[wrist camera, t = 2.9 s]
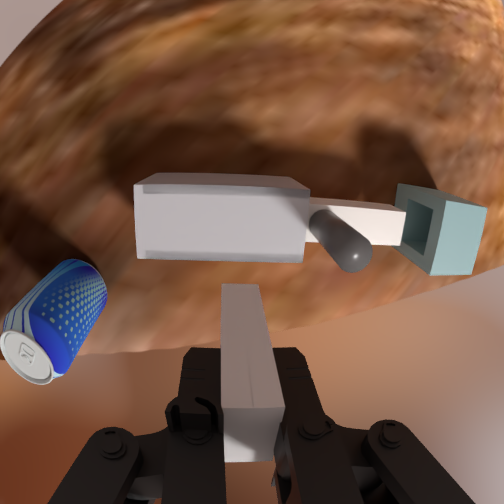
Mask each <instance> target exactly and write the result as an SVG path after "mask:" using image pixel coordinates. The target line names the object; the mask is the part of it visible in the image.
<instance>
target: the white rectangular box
mask: <svg viewBox="0 0 504 504" xmlns="http://www.w3.org/2000/svg"><path fill="white" fill-rule="evenodd" d="M310 192H311V190H310V189H308V188H307V187H305V186H304V185H302V184H300V183H299V182H297V181H296V180H294V179H292V178H291V177H283V176H267V175H248V174H223V173H155V174H153V175H151V176H149V177H147V178H146V179H144V180H142V181H140V182H138V183H136V184H134V211H135V231H136V246H137V258H139V259H171V260H205V261H243V262H287V263H302V262H303V254H304V246H305V238H306V229H307V220H308V211H309V202H310Z"/></svg>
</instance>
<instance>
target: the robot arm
mask: <svg viewBox="0 0 504 504" xmlns="http://www.w3.org/2000/svg"><path fill="white" fill-rule="evenodd" d="M180 378H181V379H180V384H179V391H178V397H176V398H174V399H173V400H172V401H171V402H170V403H169V404H168V405H167V408H166V410H165V415H166V419H167V424H168V427H166V428H165V429H163V430H161V431H159V432H156V433H152V434H147V435H140V436H133V434H132V433H130V432H128V431H126V430H125V429H123V428H118V427H107V428H103V429H101V430H99V431H96V432H95V433H94V434H93V435H92V436H91V437H90V438H89V440H88V442H87V443H86V444H85V446H84V448H83V449H82V451H81V452H80V454H79V455H78V457H77V458H76V460H75V461H74V463H73V464H72V466H71V467H70V469H69V471H68V472H67V474H66V475H65V477H64V478H63V480H62V482H61V483H60V485H59V486H58V488H57V489H56V491H55V493H54V494H53V496H52V497H51V499H50V501H49V502H48V504H154V502H155V499H157V498H162V501H161V504H227V503H226V482H225V462H256V461H272V459H273V455H274V456H275V462H276V468H275V471H274V475H273V478H272V483H271V486H275V485H276V491H277V498H278V504H475V503H474V502H473V500H472V499H471V498H470V497H469V496H468V495H467V494H466V493H465V491H464V490H463V489H462V488H461V487H460V486H459V485H458V484H457V483H456V481H455V480H454V479H453V478H452V477H451V476H450V475H449V473H448V472H447V471H446V470H445V469H444V468H443V467H442V466H441V465H440V463H439V462H438V461H437V460H436V459H435V458H434V457H433V455H432V454H431V453H430V452H429V451H428V450H427V449H426V448H425V446H424V445H423V444H422V443H421V442H420V441H419V440H418V439H417V437H416V436H415V435H414V434H413V433H412V432H411V431H410V430H409V429H408V428H407V427H406V426H405V425H403V424H402V423H400V422H397V421H395V420H382V421H378V422H376V423H375V424H373V425H372V426H371V428H370V429H369V430H362V429H352V428H346V427H342V426H339V425H337V424H335V422H334V421H333V420H332V419H331V418H330V417H328V416H327V415H325V413H324V411H323V409H322V406H321V403H320V400H319V397H318V394H317V391H316V388H315V385H314V382H313V380H312V378H311V374H310V371H309V369H308V365H307V362H306V359H305V356H304V355H303V354H302V353H300V351H299V350H298V349H297V348H296V347H288V348H272V345H271V341H270V336H269V331H268V327H267V322H266V318H265V313H264V309H263V304H262V300H261V295H260V291H259V286H258V284H224V283H222V294H221V348H195V347H192V348H190V350H189V351H188V352H187V353H186V355H185V356H184V357H183V364H182V371H181V377H180Z"/></svg>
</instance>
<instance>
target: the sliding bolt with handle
mask: <svg viewBox="0 0 504 504" xmlns="http://www.w3.org/2000/svg"><path fill="white" fill-rule="evenodd" d="M405 217H406V212H405V211H403V210H401V209H398V208H396V207H394V206H392V205H390V204H382V203H372V202H362V201H352V200H340V199H328V198H315V197H310V202H309V211H308V220H307V229H306V238H305V242H319V243H320V244H321V245H322V246H323V247H324V249H325V250H326V251H327V252H328V253H329V255H330V256H331V257H332V258H333V259H334V261H335V262H336V263H337V264H338V265H339V267H340V268H341V269H342V270H344V271H346V272H350V273H353V272H358V271H360V270H362V269H363V268H365V267H366V266H367V264H368V263H369V262H370V260H371V257H372V245H371V244H375V245H397V246H400V243H401V238H402V233H403V227H404V222H405Z"/></svg>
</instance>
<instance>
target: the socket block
mask: <svg viewBox="0 0 504 504" xmlns="http://www.w3.org/2000/svg"><path fill="white" fill-rule="evenodd" d="M394 207H396V208H398V209H401V210H403V211H405V212H406V217H405V222H404V227H403V233H402V238H401V243H400V246H397V245H391V246H392V247H394V248H395V249H396V250H398V251H399V252H400V253H402V254H403V255H404V256H406V257H407V258H408V259H409V260H411V261H412V262H413V263H415V264H416V265H417V266H418V267H420V268H421V269H422V270H424V271H425V272H426V273H427V274H429V275H471V273H472V270H473V266H474V263H475V259H476V256H477V252H478V248H479V244H480V240H481V236H482V232H483V227H484V222H485V218H486V213H487V208H486V207H483V206H481V205H478V204H476V203H473V202H471V201H468V200H465V199H463V198H460V197H457V196H454V195H452V194H449V193H446V192H443V191H440V190H437V189H431V188H426V187H420V186H414V185H408V184H401V183H398V185H397V193H396V199H395V206H394Z"/></svg>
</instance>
